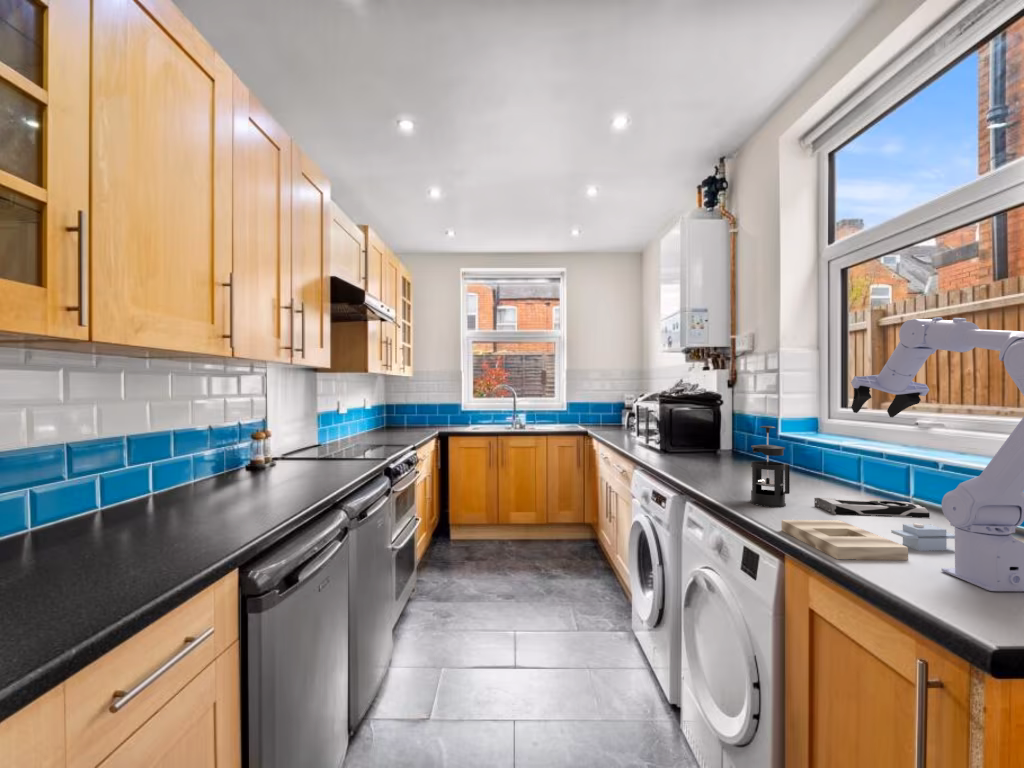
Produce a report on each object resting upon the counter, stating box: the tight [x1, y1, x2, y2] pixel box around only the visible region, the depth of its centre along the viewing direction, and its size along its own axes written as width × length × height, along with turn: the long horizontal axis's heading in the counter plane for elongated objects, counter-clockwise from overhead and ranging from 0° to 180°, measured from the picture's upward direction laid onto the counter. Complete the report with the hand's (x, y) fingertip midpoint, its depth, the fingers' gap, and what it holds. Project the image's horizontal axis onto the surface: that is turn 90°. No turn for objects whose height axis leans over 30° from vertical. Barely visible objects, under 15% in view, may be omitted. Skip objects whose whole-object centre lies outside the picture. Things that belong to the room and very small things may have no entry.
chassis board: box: [781, 519, 909, 561], centre depth 106 cm, size 20×14×2 cm
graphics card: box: [813, 497, 930, 518], centre depth 135 cm, size 10×3×25 cm
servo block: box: [890, 522, 955, 552], centre depth 104 cm, size 4×11×5 cm, turn 90°
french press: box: [749, 425, 791, 508], centre depth 144 cm, size 12×9×23 cm
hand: (871, 412), depth 114 cm, fingers open, 7 cm apart
